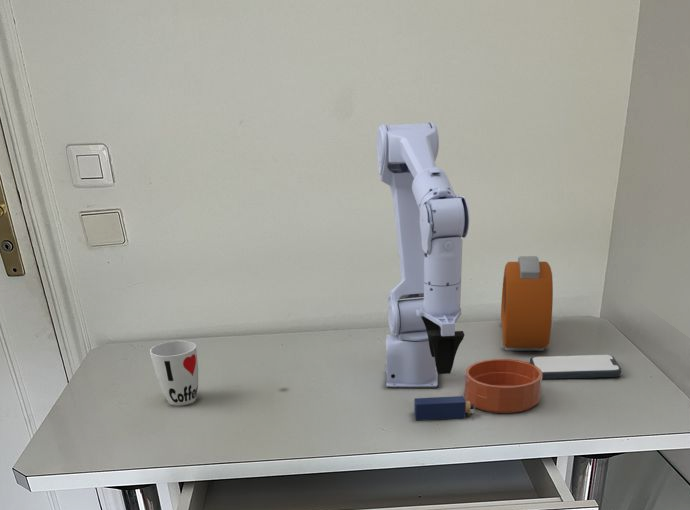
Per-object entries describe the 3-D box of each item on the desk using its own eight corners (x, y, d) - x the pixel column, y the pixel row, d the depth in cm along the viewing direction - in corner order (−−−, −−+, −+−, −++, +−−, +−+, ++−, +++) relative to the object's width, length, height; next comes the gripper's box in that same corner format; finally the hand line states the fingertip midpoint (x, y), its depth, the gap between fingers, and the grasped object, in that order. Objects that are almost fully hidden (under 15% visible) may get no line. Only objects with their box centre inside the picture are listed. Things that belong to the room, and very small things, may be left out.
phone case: (534, 381, 137) (622, 378, 135) (535, 373, 136) (623, 370, 135) (528, 364, 144) (611, 361, 143) (529, 356, 143) (612, 353, 142)
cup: (166, 412, 130) (156, 359, 125) (155, 397, 136) (145, 346, 131) (210, 402, 133) (201, 350, 128) (197, 388, 140) (188, 337, 134)
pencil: (415, 420, 124) (416, 404, 122) (414, 414, 126) (414, 398, 124) (474, 417, 124) (475, 401, 122) (471, 411, 126) (472, 395, 124)
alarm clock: (500, 320, 167) (505, 244, 158) (540, 320, 166) (547, 244, 157) (503, 356, 147) (508, 273, 139) (548, 357, 146) (557, 272, 137)
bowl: (465, 414, 125) (466, 387, 122) (463, 384, 136) (464, 358, 134) (543, 414, 124) (546, 387, 121) (535, 384, 135) (538, 358, 132)
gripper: (412, 270, 119) (412, 350, 126) (422, 295, 106) (421, 382, 114) (455, 268, 119) (452, 348, 126) (470, 293, 107) (466, 380, 114)
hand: (440, 364), depth 120 cm, fingers open, 7 cm apart
